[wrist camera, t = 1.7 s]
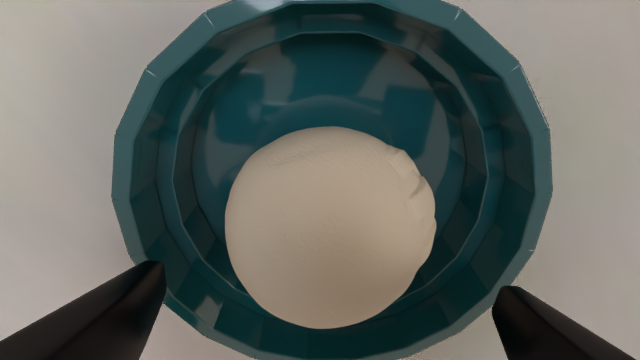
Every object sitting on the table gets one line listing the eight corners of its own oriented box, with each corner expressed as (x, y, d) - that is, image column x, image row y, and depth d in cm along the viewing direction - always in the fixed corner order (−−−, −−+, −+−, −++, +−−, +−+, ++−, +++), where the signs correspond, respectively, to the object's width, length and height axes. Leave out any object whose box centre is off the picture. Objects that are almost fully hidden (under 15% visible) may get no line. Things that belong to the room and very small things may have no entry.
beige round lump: (417, 228, 15) (482, 351, 9) (273, 257, 16) (246, 390, 10) (398, 88, 13) (472, 132, 7) (226, 130, 13) (150, 205, 7)
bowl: (150, 265, 17) (103, 328, 13) (191, -66, 11) (127, -120, 7) (410, 325, 18) (433, 396, 15) (559, 69, 13) (655, 80, 9)
